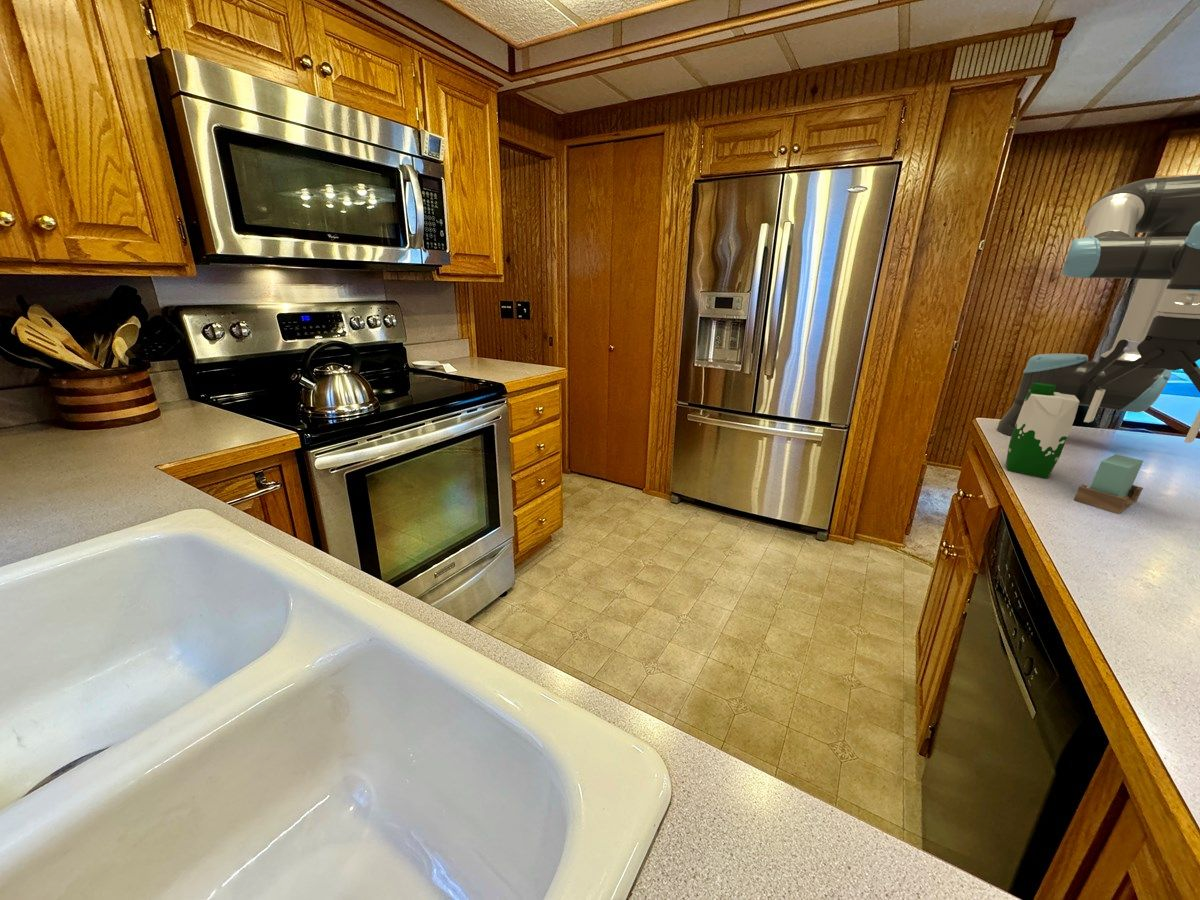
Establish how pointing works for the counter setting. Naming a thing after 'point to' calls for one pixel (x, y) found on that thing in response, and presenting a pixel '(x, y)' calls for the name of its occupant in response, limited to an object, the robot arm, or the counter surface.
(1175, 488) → the counter surface
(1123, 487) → the key block
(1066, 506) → the counter surface
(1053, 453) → the milk carton
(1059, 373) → the robot arm
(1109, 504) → the holder
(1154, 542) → the counter surface
